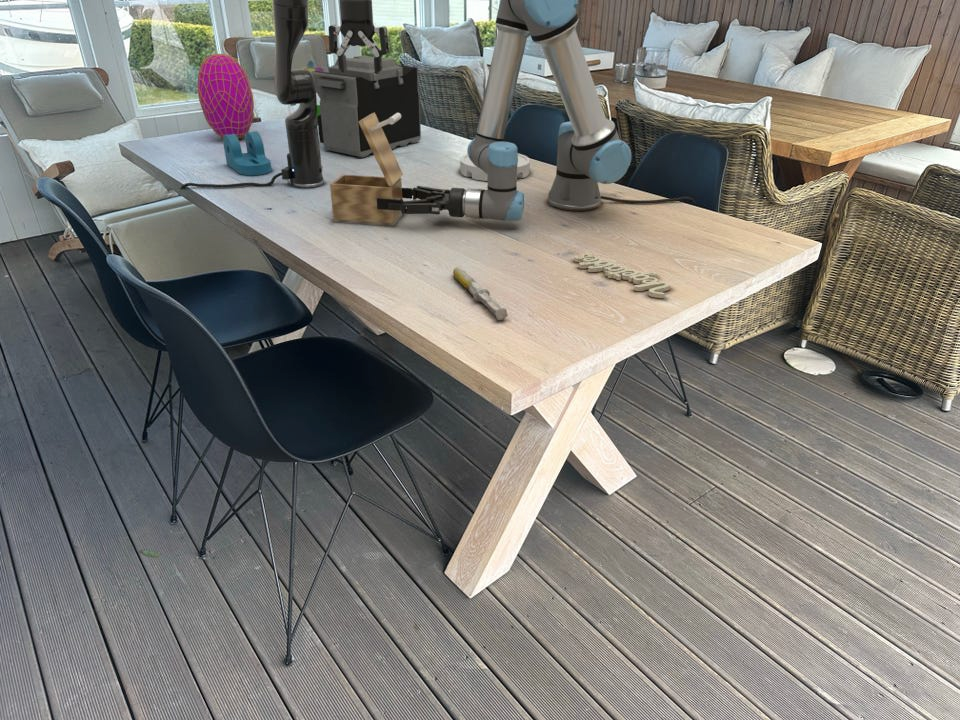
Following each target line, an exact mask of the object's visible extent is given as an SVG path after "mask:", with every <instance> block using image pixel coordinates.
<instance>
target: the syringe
mask: <svg viewBox="0 0 960 720" xmlns="http://www.w3.org/2000/svg"><path fill="white" fill-rule="evenodd" d="M452 274H453V277H454V279H455V280H457V281H458V282H459V283H460V285H462V287H464V289H466V290H467V291H468V293H470V295H471V296H472V298H473V300H474V302H477V303H478V302H480V303H482V304H483V305H484V306H485V307H486V308H487V309H488V310H489V311H490V312H491V313H492V314H493V315H494V316H495V317H496V320H497V321H503V320H504V319H506V318H507V317H509V314H508V310H507V308H506V307H502V306H501V305H500V303H498V302H497V301H496V300H494V299H493V298H492V297H491V296H490V295H491V293H490V290H488V289H486V288H483V287H482V286H481V285H480V284H479V283H478V282H477V281H476V280H474V278H473V277H471V275H469V274H468V273H467V272H466V270H465V269H464V268H463V267H462V266H456V267H454V268H453V271H452Z"/></svg>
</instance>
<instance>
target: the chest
mask: <svg viewBox="0 0 960 720" xmlns="http://www.w3.org/2000/svg"><path fill="white" fill-rule="evenodd" d="M402 186H403V184H402V177H400V178H399V179H398V180H397V181H396V182H395V183H394V184H393V185H391V186H388V183H387V181H386V179H385V177H384V176H373V175H360V174H359V175H358V174H357V175H356V174H343V173H342V174H341V175H339V176H338V177H337V178H336V179H335V180H333V181H332V182H330V183H329V191H330V198H331V210H332V220H333V223H340V224H341V223H343V224H353V225H354V224H355V225H366V226H367V225H368V226H383V227H395V225H396V224H397V223H398V221H399V220H400V219H401V218H402V217H403V216H404V214H402V213H401V211H398V210H383V209H377V198H383V199H398V200H400V199H403V198H402V188H403V187H402Z"/></svg>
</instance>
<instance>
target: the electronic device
mask: <svg viewBox="0 0 960 720" xmlns="http://www.w3.org/2000/svg"><path fill="white" fill-rule="evenodd" d="M374 57H375V56H367V55H356V56H353V57H350V58H349V57H346V65H347V72H345V73H342V72H341V70H340V69H339V65H338V58H337V59H336V60H335V63H334V64H333V65H330V66H329V67H328V72H327V71H323V72H321V71H313V72H311V73H312V75H313V77H314V80H315V85H316V95H317V96H318V98H319V105H320V111H321V115H319V116H318V117H317V120H318V124H317V127H318V137H319V144H323V146H324V149H325V150H327V151H330V152H335V153H340V154H344V155H348V156H353V157H357V158H362V159H363V158H366V157H367V158H368V157H369V155H371V154H373V152H372V150H371V147H370V145H369V143H368V141H367V139H366V137H365V135H364V133H363V131H362V128H361V126H360V124H359V121H360V120H362V119H363V118H365V117H367V116H368V115H370V114H372V113H374V112H375V114H376V116H377V119H378V121H379V123H380V122H382V121H385V120H387V119H389V118H390V117H392V116H393V115H395V114H396V113H400V114H401V119H399V120H398V121H397V122H395V123H394V124H392V125H391V124H387V125H385V126H382V130H383V132H384V134H385V136H386V138H387V140H388V143H389V145H390V147H391V149H392V150H395V149H396V148H397V147H405V146H407V145H408V144H416V143H418V142H419V141H421V137H422V128H421V97H420V92H419V91H420V89H419V68H418V67H417V66H408V65H400V64H396V62H395V60H394V59H393V58H385V57H382V71H380V73H379V74H375V69H374Z"/></svg>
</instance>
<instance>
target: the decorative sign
mask: <svg viewBox="0 0 960 720" xmlns="http://www.w3.org/2000/svg"><path fill="white" fill-rule="evenodd" d="M574 262H575V263H578V269H588V270H587V272H588V273H598V272H603V273H604V276H606V277H607V278H608V279H614V280H617V281H621V279H622V280H627V281H628V282H630V283H633V284H634V285H633V291H636V292H643V291H647V290H648V293H647V294H648V296H649V297H652V298H656V299H664V298H665V295H666V292H668V291H669V290H670V289H671V283H670V282H668V281H659V279H658V272H657V271H648V272H639V271H637V270H634V269H630V268H628V267H627V266H626V267H625V266H624V265H619V264H618V263H615V262H611V261H610V260H604V258H601V257H598V256H596V255H592V254H590V253H587V252H586V253H582V254H581V255H580V256H578V255H575V256H574Z"/></svg>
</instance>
